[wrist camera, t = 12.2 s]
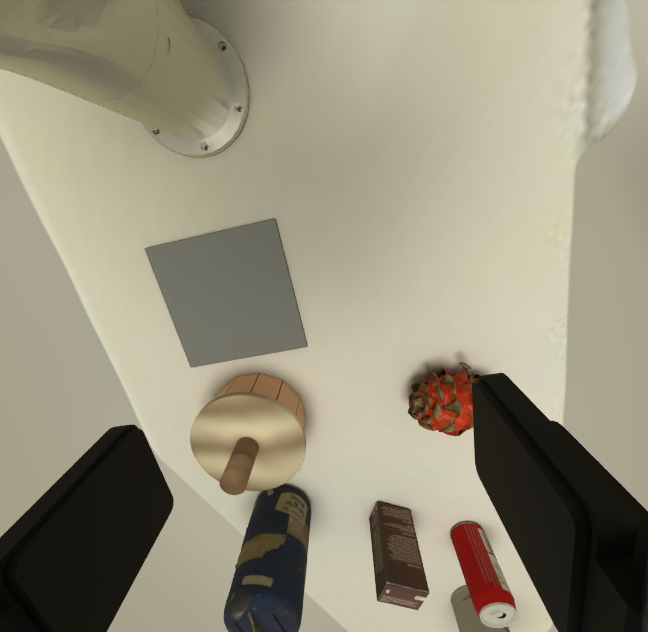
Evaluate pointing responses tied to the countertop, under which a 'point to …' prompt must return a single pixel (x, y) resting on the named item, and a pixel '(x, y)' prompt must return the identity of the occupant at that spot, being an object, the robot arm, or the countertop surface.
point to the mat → (229, 294)
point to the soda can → (483, 576)
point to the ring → (267, 391)
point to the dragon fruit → (444, 401)
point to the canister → (271, 565)
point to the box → (397, 557)
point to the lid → (248, 442)
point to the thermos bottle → (469, 613)
